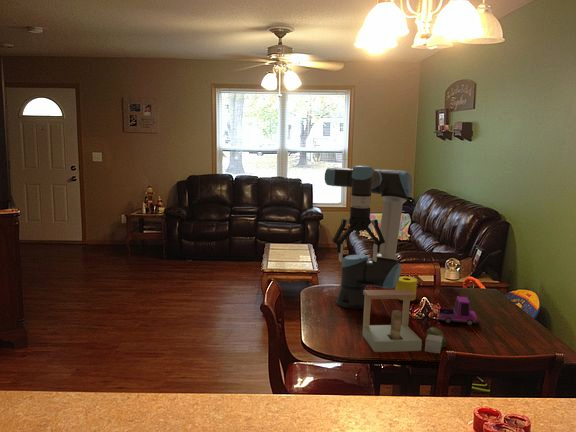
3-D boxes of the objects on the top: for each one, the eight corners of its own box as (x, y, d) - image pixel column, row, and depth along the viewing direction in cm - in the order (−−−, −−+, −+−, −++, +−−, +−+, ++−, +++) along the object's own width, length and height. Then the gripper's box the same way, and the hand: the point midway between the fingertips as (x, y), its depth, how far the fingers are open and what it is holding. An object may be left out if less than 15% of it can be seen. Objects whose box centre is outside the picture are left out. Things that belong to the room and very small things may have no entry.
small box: (440, 354, 192) (441, 341, 191) (424, 351, 194) (425, 339, 193) (441, 348, 197) (443, 336, 196) (426, 345, 199) (427, 333, 198)
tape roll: (417, 301, 251) (419, 282, 250) (397, 300, 251) (398, 281, 250) (413, 294, 261) (414, 276, 260) (393, 294, 261) (394, 275, 260)
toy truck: (476, 327, 220) (479, 304, 218) (438, 323, 223) (440, 301, 221) (472, 318, 231) (474, 296, 229) (436, 315, 233) (438, 293, 232)
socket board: (362, 335, 207) (362, 325, 207) (405, 333, 210) (406, 324, 209) (374, 352, 192) (375, 341, 191) (421, 350, 194) (421, 340, 194)
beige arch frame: (361, 325, 207) (363, 290, 205) (406, 324, 210) (409, 289, 207) (366, 331, 201) (368, 295, 198) (413, 330, 203) (415, 294, 201)
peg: (388, 345, 198) (390, 310, 196) (397, 344, 199) (399, 310, 196) (391, 349, 195) (393, 313, 192) (400, 348, 195) (403, 313, 193)
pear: (436, 324, 206) (451, 338, 197) (434, 336, 208) (449, 350, 199) (424, 325, 204) (439, 339, 195) (422, 337, 206) (436, 351, 197)
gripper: (330, 207, 191) (328, 263, 195) (395, 208, 195) (391, 263, 199) (326, 204, 199) (323, 258, 202) (388, 205, 202) (385, 258, 206)
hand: (357, 261), depth 201 cm, fingers open, 13 cm apart
